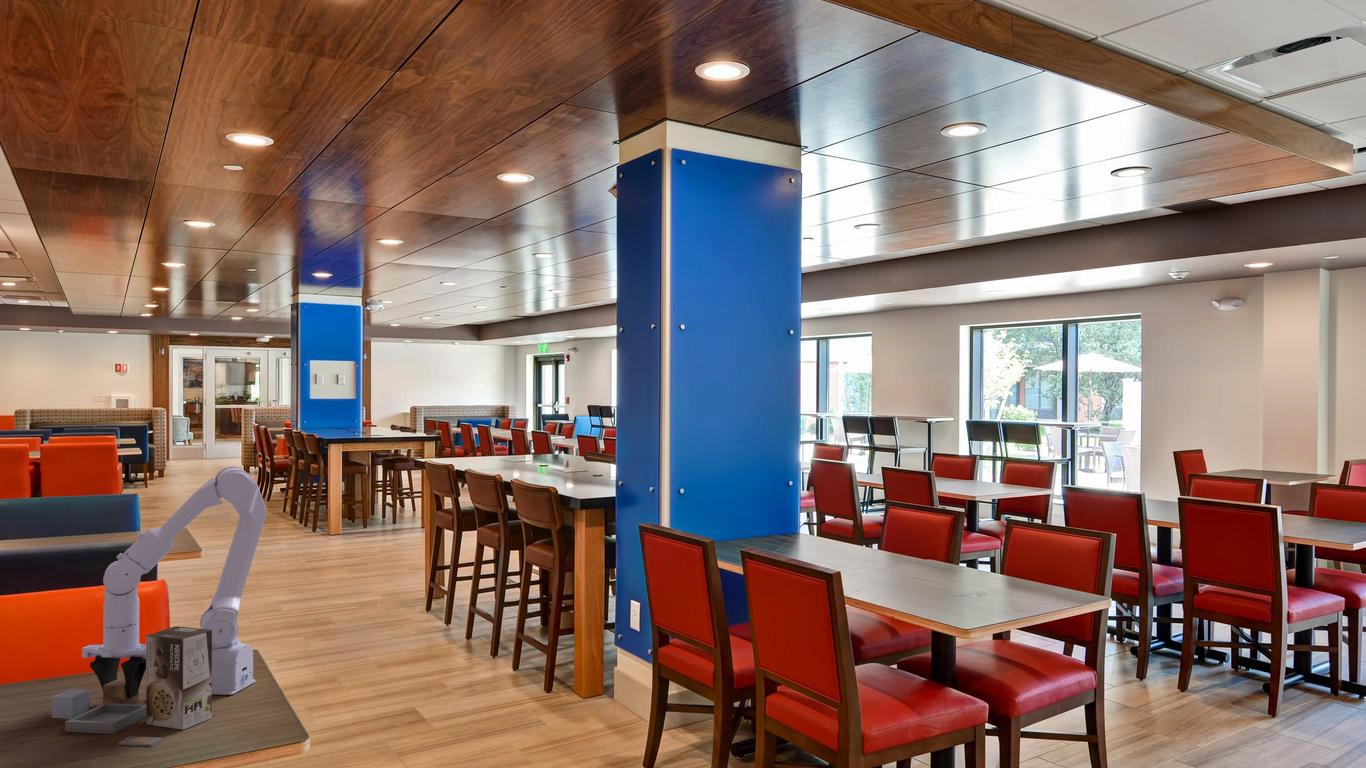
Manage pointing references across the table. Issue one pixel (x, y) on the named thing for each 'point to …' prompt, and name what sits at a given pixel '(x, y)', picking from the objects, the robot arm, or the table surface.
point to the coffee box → (179, 677)
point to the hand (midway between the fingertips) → (121, 695)
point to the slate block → (70, 703)
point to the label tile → (140, 741)
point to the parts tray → (106, 718)
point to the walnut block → (117, 693)
